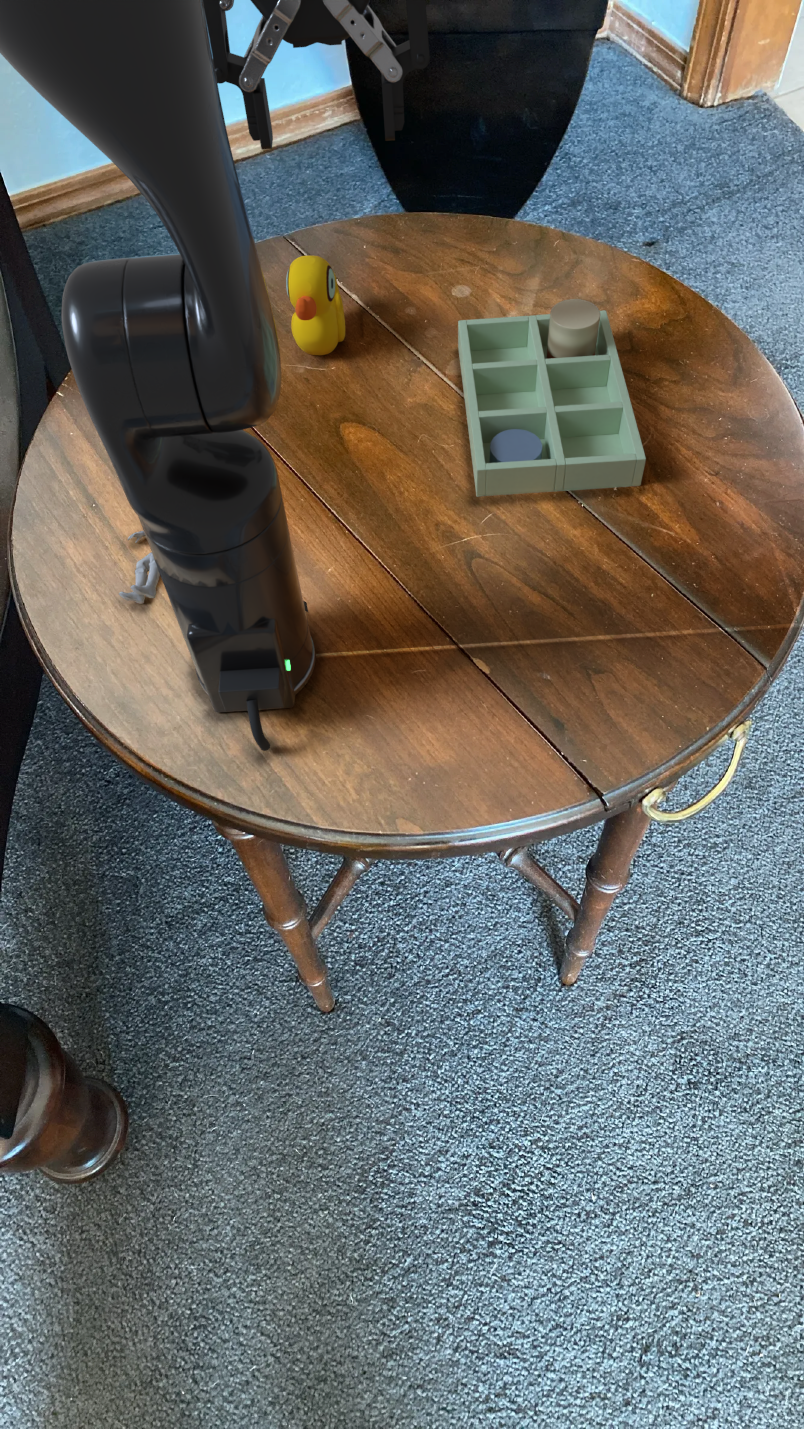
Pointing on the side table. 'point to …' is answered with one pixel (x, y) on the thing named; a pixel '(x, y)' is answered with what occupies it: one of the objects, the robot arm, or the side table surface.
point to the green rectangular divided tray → (547, 408)
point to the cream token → (573, 328)
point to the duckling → (315, 305)
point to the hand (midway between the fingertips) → (328, 139)
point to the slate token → (515, 446)
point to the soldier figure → (143, 577)
